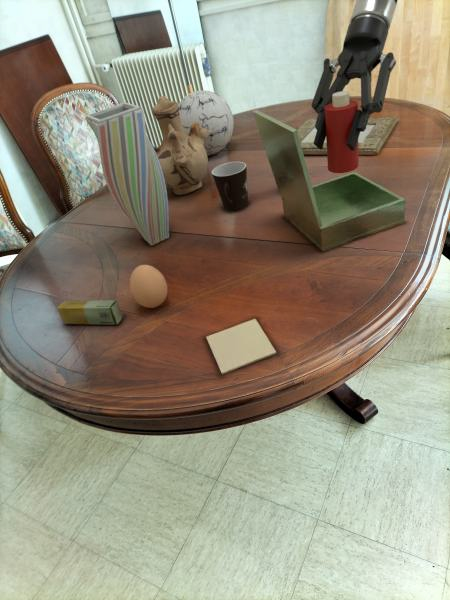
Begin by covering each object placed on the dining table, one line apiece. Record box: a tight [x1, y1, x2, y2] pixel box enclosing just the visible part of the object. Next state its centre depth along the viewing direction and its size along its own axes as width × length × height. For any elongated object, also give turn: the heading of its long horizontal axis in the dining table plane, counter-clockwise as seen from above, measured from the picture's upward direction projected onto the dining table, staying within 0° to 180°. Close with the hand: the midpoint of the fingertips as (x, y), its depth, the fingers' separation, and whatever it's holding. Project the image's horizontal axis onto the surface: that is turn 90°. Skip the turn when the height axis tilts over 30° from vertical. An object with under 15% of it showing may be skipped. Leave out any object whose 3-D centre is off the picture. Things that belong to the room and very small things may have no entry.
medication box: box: [56, 299, 124, 326], centre depth 80 cm, size 12×3×4 cm, turn 78°
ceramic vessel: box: [151, 95, 212, 196], centre depth 116 cm, size 18×19×25 cm
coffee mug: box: [211, 161, 249, 213], centre depth 104 cm, size 12×9×10 cm
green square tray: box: [281, 171, 406, 253], centre depth 90 cm, size 19×19×5 cm
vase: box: [84, 101, 170, 246], centre depth 94 cm, size 14×14×30 cm
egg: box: [129, 264, 168, 309], centre depth 78 cm, size 7×7×9 cm
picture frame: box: [296, 116, 398, 156], centre depth 130 cm, size 27×30×3 cm
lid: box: [252, 109, 322, 227], centre depth 81 cm, size 19×19×1 cm
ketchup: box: [325, 90, 360, 174], centre depth 81 cm, size 6×6×14 cm
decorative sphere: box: [178, 89, 235, 157], centre depth 138 cm, size 20×20×20 cm
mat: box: [205, 318, 277, 375], centre depth 67 cm, size 9×9×1 cm
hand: (333, 146), depth 80 cm, fingers closed on ketchup, 6 cm apart
